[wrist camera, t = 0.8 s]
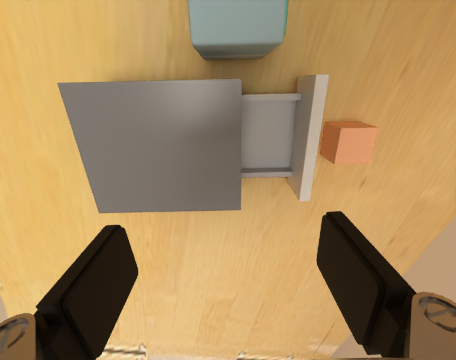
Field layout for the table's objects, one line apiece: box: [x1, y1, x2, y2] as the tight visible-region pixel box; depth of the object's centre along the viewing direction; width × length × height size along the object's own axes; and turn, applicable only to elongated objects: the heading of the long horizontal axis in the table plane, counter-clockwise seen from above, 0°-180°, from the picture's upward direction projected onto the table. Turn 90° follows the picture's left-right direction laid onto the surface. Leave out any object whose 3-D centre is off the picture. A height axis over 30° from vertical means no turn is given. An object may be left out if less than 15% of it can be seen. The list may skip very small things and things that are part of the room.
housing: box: [57, 79, 242, 213], centre depth 28 cm, size 18×15×10 cm
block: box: [320, 122, 379, 164], centre depth 31 cm, size 5×5×5 cm
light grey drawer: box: [241, 74, 329, 201], centre depth 29 cm, size 17×16×6 cm
